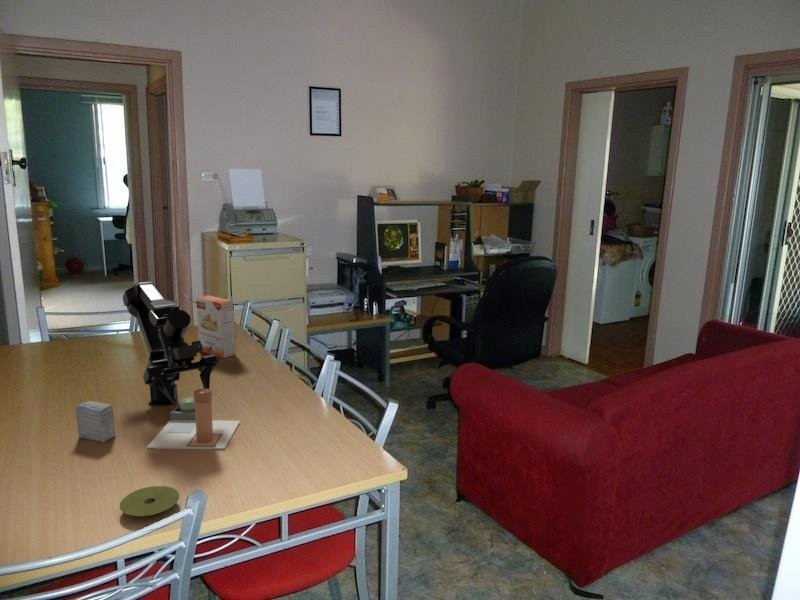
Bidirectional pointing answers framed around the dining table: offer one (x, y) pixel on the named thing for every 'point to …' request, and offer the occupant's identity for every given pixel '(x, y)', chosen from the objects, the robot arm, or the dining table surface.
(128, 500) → the green disc
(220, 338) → the cracker box
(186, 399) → the button
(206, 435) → the brown tall rounded cylinder
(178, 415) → the button housing
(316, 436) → the dining table surface
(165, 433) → the colouring sheet
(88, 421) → the medicine box
